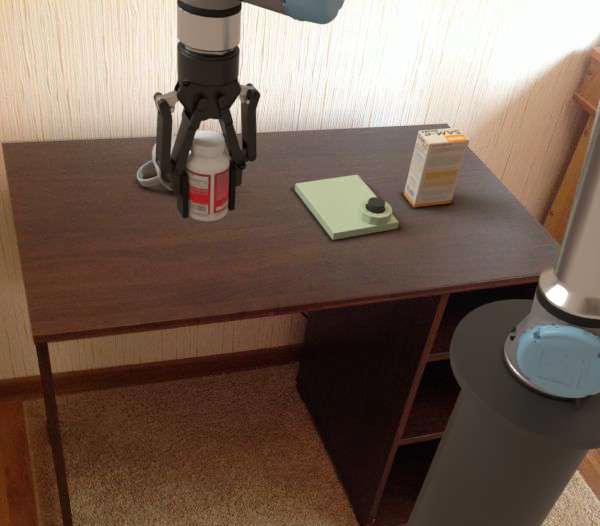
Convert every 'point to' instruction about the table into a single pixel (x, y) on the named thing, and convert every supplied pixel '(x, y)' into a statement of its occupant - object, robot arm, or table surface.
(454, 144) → the supplement box
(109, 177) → the table surface
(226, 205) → the pill bottle
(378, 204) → the button
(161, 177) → the ceramic mug
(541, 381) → the robot arm
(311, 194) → the scale
